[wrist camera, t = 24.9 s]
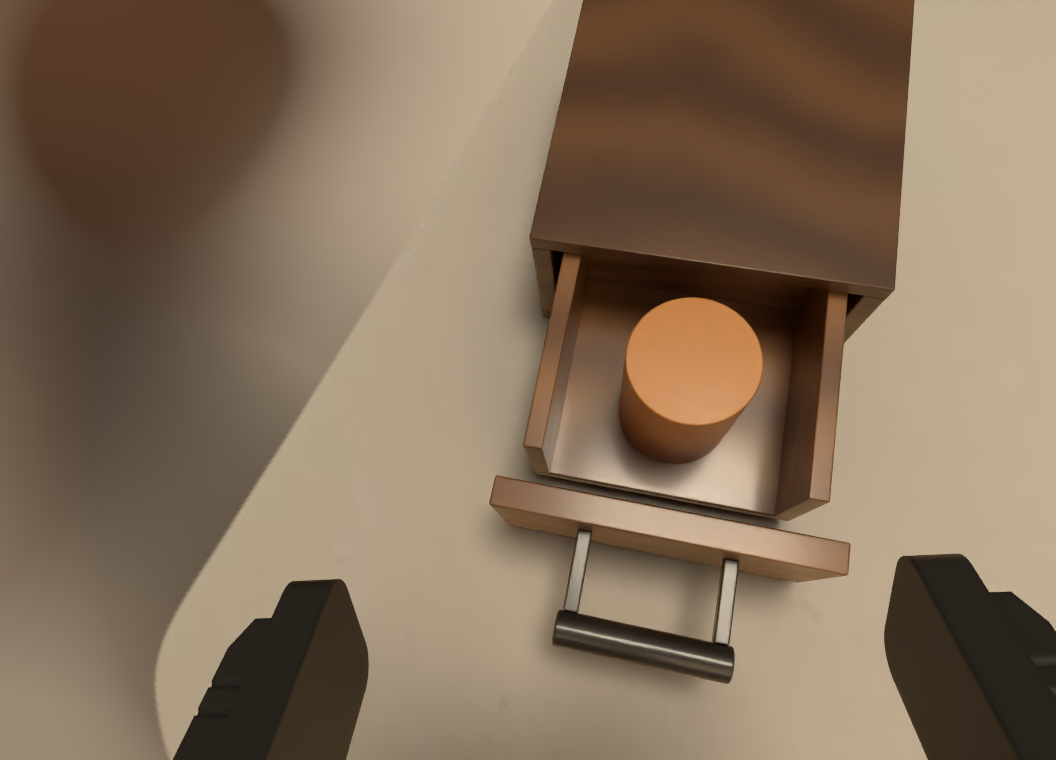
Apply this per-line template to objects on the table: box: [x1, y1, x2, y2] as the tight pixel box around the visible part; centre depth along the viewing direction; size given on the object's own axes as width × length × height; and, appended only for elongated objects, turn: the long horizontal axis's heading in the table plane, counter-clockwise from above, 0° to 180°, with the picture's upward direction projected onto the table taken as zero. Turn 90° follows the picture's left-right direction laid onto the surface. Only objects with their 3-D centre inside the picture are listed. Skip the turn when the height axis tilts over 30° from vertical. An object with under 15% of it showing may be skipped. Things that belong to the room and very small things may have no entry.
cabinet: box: [530, 0, 914, 343], centre depth 36 cm, size 15×15×9 cm
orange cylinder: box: [619, 297, 763, 464], centre depth 31 cm, size 5×5×8 cm
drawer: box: [489, 252, 850, 684], centre depth 32 cm, size 18×14×7 cm
